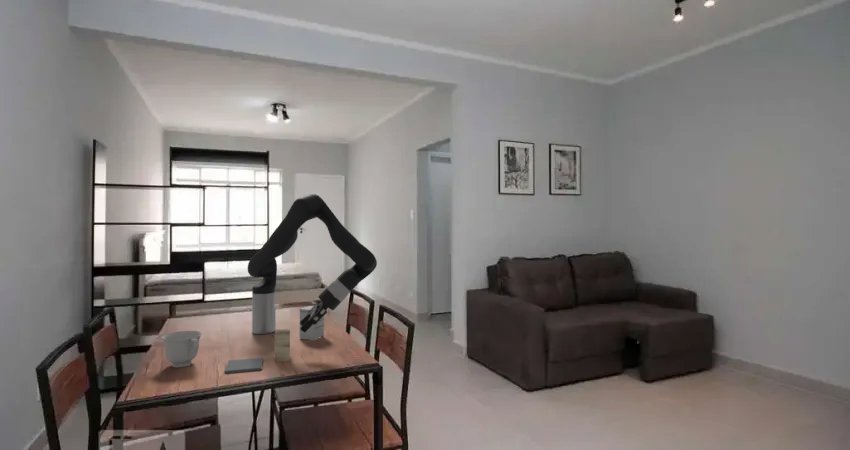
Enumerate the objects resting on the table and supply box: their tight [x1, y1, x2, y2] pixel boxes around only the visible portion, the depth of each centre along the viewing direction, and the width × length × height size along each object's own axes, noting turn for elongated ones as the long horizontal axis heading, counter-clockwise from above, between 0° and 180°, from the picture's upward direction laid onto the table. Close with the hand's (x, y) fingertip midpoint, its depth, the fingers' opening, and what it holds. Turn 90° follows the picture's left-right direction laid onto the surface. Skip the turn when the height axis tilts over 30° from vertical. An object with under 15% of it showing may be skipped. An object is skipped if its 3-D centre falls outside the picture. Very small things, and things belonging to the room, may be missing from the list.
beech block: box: [274, 328, 291, 363], centre depth 155 cm, size 5×5×10 cm
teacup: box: [161, 330, 203, 368], centre depth 148 cm, size 12×15×10 cm
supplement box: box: [298, 305, 325, 341], centre depth 183 cm, size 7×7×13 cm
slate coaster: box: [224, 357, 264, 374], centre depth 147 cm, size 11×11×1 cm
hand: (301, 327), depth 157 cm, fingers open, 8 cm apart
